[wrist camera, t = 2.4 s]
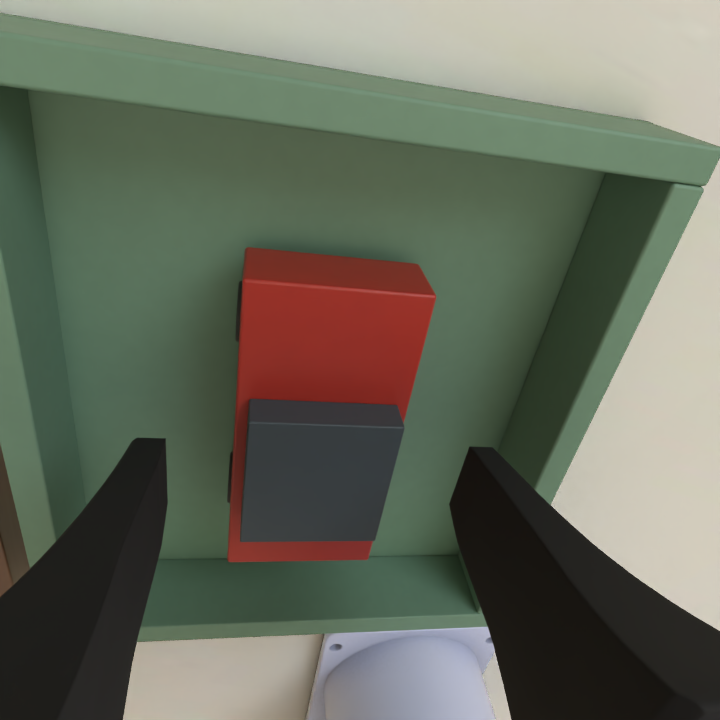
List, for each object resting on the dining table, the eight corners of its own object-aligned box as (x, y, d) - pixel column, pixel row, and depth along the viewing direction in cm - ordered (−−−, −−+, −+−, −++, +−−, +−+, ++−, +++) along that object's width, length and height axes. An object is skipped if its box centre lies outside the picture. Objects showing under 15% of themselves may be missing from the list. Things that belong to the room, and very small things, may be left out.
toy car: (360, 499, 19) (376, 587, 16) (227, 498, 18) (221, 591, 15) (416, 251, 14) (454, 316, 11) (241, 234, 13) (235, 298, 11)
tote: (468, 561, 22) (492, 626, 20) (73, 567, 19) (47, 646, 17) (648, 121, 14) (726, 148, 11) (-24, 9, 11) (-104, 14, 8)
